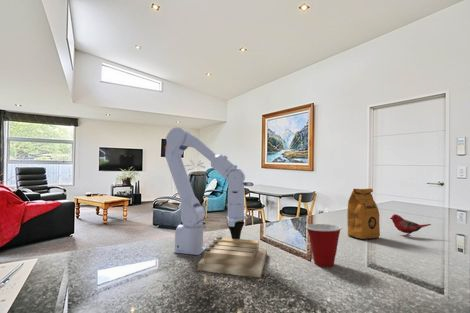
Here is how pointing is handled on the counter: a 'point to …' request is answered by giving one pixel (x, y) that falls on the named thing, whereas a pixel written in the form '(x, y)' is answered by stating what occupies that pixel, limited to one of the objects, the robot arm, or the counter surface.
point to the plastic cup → (324, 243)
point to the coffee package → (363, 215)
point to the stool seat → (233, 259)
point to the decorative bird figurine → (406, 225)
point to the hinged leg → (238, 241)
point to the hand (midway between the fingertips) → (235, 243)
